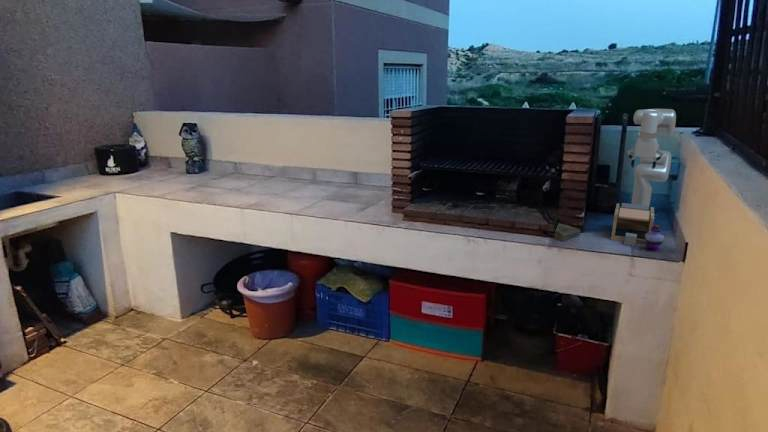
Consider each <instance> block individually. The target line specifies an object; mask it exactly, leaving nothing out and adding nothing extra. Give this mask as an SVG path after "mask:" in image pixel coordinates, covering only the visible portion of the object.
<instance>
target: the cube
mask: <svg viewBox="0 0 768 432" xmlns="http://www.w3.org/2000/svg"><path fill="white" fill-rule="evenodd" d="M624 237H625V241H624V244H623V245H624V246H630V247H636V244H637V243H636V239H638V234H637V233H631V232H625V235H624Z"/></svg>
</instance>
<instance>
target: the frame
mask: <svg viewBox="0 0 768 432" xmlns="http://www.w3.org/2000/svg"><path fill="white" fill-rule="evenodd" d="M620 204H621V203H616V207H615V210H614V215H613V220H612V221H613V223H612V228H611V229H612V230H611V235H610V240H612V241H619V242H625V236H622V235H616V232H617V229H623V230H624V229H626V230H632V231H642V232H646V233H652V231H651V227H653V225H654V222H655V207H650V208H649V209H650V210H649V211H650V215H649V222H648V221H639V220H631V219H623V218H618V217H619V211H620V207H621V205H620ZM636 244H640V245H646V241H645V238H644V239H642V238H637V239H636Z"/></svg>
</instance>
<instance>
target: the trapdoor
mask: <svg viewBox="0 0 768 432" xmlns="http://www.w3.org/2000/svg"><path fill="white" fill-rule="evenodd" d="M649 209H650V205H649V206H646V205H637V204H631V203H628V202H627V203H626V202H622V203H621V205H620V207H619V217H618V218H623V219H631V220H639V221H648V222H649V215H650V210H649Z"/></svg>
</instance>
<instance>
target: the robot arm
mask: <svg viewBox="0 0 768 432" xmlns="http://www.w3.org/2000/svg"><path fill="white" fill-rule="evenodd" d="M676 113H677V112H676V111H675V110H674V109H672V108H648V109H637V110H635V112H634V114H633V122H634V124H635V125H640V130H639V132H637V133H636V136H638V137H637V139H636V142H635V147H634V148H632V149H629V150H626V151H627V152H626V153H627V155H628V158H629V159H630V160H631V161H630V162H631V163H630V166H631V168H634V183H633V190H632V197H631V203H630V204H637V205H646V206H649V207H650V204H651V199H652V198H651V197H652V191H653V189H652V185H651V184H650V183H649V182H657V183H664V182H666V181H667V180H668V179H669V175H670V170H671V163H672V153H671V152H670V151H668V150H665V149H664V150H663V149H662V150H661V149H660V144H659V142H658V140H657V137H665V138H670V137H672V136H673V135H674V133H675V130H676V123H677V122H676V121H677V114H676ZM631 153H634V154H633V156H632V154H631ZM636 158H639V159H640V160H639V161H640V163H639V164H636V166H635V167H634V165H635V159H636Z"/></svg>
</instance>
